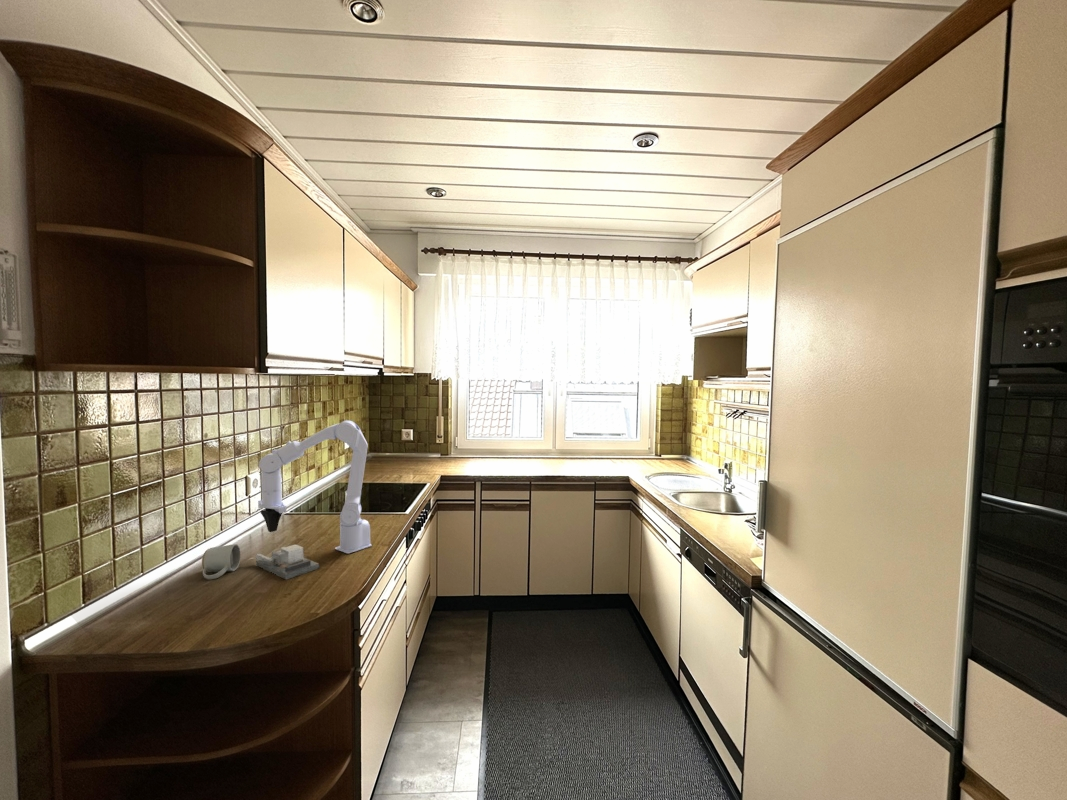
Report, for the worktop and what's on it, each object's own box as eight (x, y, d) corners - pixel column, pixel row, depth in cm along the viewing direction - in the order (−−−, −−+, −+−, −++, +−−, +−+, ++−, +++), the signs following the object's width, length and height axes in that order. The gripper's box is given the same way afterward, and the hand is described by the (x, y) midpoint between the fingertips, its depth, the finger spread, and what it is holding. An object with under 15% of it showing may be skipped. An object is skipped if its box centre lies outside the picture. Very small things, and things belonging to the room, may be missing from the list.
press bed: (286, 554, 154) (286, 546, 154) (318, 568, 143) (318, 558, 143) (254, 564, 146) (253, 555, 146) (286, 579, 135) (286, 569, 135)
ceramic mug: (212, 566, 144) (211, 542, 144) (241, 564, 146) (240, 540, 145) (194, 581, 134) (193, 555, 133) (226, 579, 135) (225, 553, 135)
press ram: (291, 556, 148) (291, 546, 148) (297, 558, 146) (297, 549, 146) (271, 561, 143) (271, 552, 143) (278, 564, 141) (278, 555, 141)
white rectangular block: (303, 563, 143) (303, 547, 143) (288, 568, 139) (288, 551, 139) (295, 560, 145) (295, 544, 145) (281, 564, 142) (280, 548, 141)
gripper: (248, 489, 153) (249, 530, 153) (270, 495, 145) (271, 538, 145) (270, 485, 159) (271, 524, 159) (292, 491, 150) (293, 532, 151)
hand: (272, 531), depth 153 cm, fingers closed
